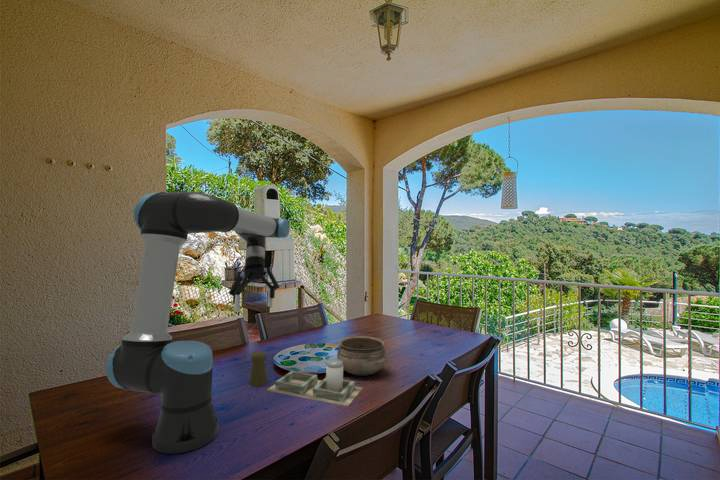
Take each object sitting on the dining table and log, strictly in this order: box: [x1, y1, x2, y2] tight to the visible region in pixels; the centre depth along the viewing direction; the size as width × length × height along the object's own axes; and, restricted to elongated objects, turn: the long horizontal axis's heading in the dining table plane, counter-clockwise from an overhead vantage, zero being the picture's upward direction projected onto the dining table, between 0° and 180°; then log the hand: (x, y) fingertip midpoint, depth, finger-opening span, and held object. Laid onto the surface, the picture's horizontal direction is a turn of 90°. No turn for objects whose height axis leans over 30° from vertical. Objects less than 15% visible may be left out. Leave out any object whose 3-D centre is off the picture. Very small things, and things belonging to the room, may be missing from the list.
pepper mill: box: [249, 350, 268, 388], centre depth 121 cm, size 6×6×11 cm
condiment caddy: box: [265, 370, 363, 408], centre depth 114 cm, size 14×29×4 cm, turn 70°
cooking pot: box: [336, 335, 388, 377], centre depth 131 cm, size 25×19×12 cm
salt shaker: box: [325, 358, 344, 392], centre depth 112 cm, size 6×6×10 cm
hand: (253, 309), depth 131 cm, fingers open, 13 cm apart
